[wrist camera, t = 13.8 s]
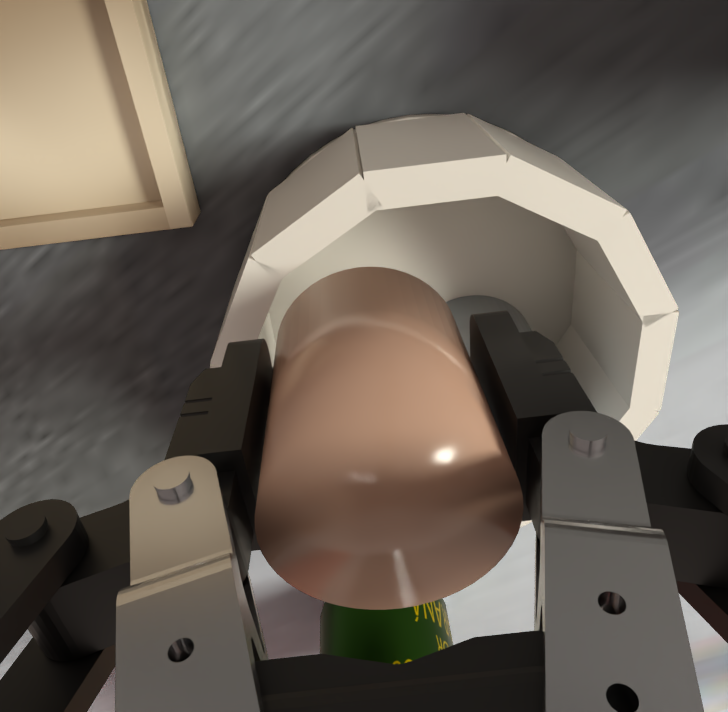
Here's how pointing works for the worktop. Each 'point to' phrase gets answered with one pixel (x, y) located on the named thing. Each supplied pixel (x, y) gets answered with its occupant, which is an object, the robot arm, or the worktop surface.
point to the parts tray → (86, 125)
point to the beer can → (385, 632)
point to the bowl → (470, 247)
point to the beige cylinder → (380, 449)
